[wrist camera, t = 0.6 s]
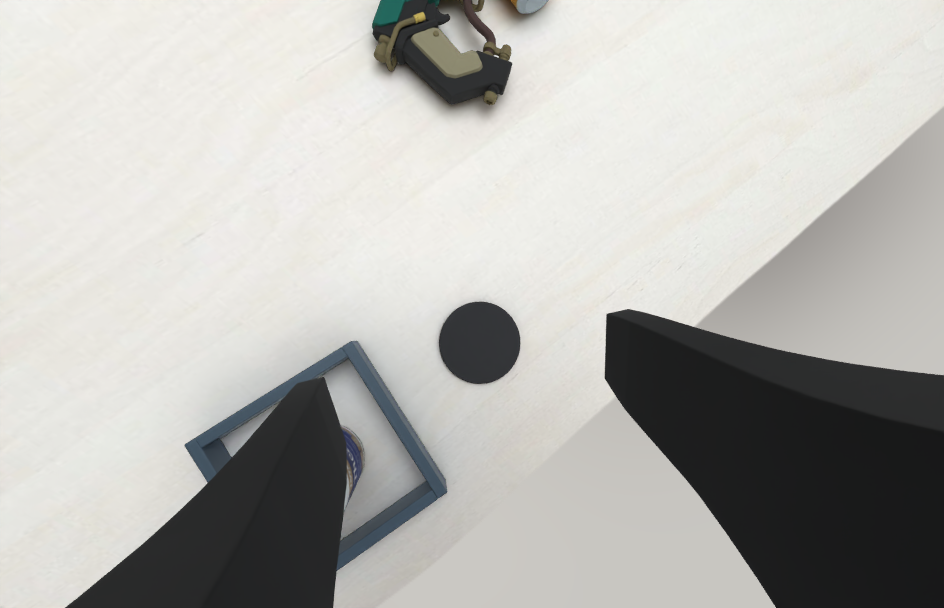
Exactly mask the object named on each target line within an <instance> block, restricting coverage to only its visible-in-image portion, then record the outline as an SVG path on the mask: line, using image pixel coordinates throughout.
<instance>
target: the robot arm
mask: <svg viewBox="0 0 944 608" xmlns="http://www.w3.org/2000/svg"><path fill="white" fill-rule="evenodd" d="M605 379H606V381H607V383H608V384H609V386H610V387H611V389H612V391H613V392H614V394H615V395H616V397H617V398H618V400H619V401H620V403H621V404H622V406H623V407H624V408H625V410H626V411H627V412H628V413H629V415H630V416H631V417H632V418H633V419H634V420H635V422H636V423H637V424H638V425H639V426H640V427H641V429H642V430H643V431H644V432H645V433H646V434H647V435H648V437H649V438H650V439H651V440H652V441H653V442H654V443H655V444H656V446H658V448H659V449H660V450H661V451H662V453H663V454H664V455H665V456H666V457H667V458H668V459H669V460H670V462H671V463H672V464H673V465H674V466H675V467H676V468H677V470H678V471H679V472H680V473H681V474H682V475H683V476H684V478H685V479H686V480H687V481H688V482H689V484H690V485H691V486H692V487H693V488H694V490H695V491H696V492H697V493H698V495H699V496H700V497H701V499H702V500H703V501H704V502H705V504H706V506H707V507H708V508H709V510H710V511H711V513H712V514H713V515H714V517H715V518H716V519H717V521H718V522H719V524H720V525H721V526H722V528H723V529H724V530H725V532H726V533H727V535H728V536H729V537H730V539H731V541H732V542H733V544H734V545H735V546H736V548H737V549H738V551H739V552H740V554H741V555H742V557H743V558H744V560H745V561H746V563H747V564H748V565H749V567H750V568H751V570H752V571H753V573H754V574H755V576H756V577H757V579H758V580H759V582H760V583H761V585H762V586H763V588H764V590H765V591H766V593H767V594H768V596H769V597H770V599H771V601H772V602H773V604H774V605H775V607H776V608H944V375H935V374H925V373H917V372H907V371H900V370H892V369H885V368H878V367H871V366H863V365H856V364H850V363H844V362H838V361H832V360H826V359H822V358H816V357H811V356H806V355H801V354H796V353H791V352H786V351H782V350H777V349H773V348H768V347H765V346H761V345H757V344H753V343H748V342H745V341H741V340H737V339H734V338H730V337H726V336H723V335H719V334H716V333H712V332H709V331H705V330H702V329H698V328H695V327H692V326H689V325H685V324H682V323H679V322H675V321H672V320H669V319H665V318H662V317H659V316H655V315H651V314H648V313H644V312H640V311H635V310H630V309H627V310H622V311H618V312H613V313H609V314H607V320H606V353H605ZM346 486H347V449H346V440H345V437H344V434H343V431H342V428H341V425H340V423H339V420H338V417H337V414H336V411H335V408H334V405H333V402H332V399H331V396H330V393H329V390H328V387H327V384H326V381H325V378H324V377H322V378H317V379H313V380H308V381H304V382H299V383H297V384H296V385H295V386H294V387H293V388H292V389H291V390H290V391H289V393H288V394H287V395H286V396H285V397H284V398H283V400H282V401H281V402H280V403H279V404H278V406H277V407H276V408H275V409H274V410H273V411H272V413H271V414H270V415H269V416H268V417H267V419H266V420H265V421H264V422H263V423H262V424H261V426H260V427H259V428H258V429H257V430H256V431H255V432H254V434H253V435H252V436H251V437H250V438H249V439H248V441H247V442H246V443H245V444H244V445H243V446H242V447H241V448H240V449H239V451H238V452H237V453H236V454H235V455H234V456H233V457H232V458H231V459H230V460H229V461H228V462H227V463H226V464H225V465H224V466H223V468H222V469H221V470H220V471H219V472H218V473H217V474H216V475H215V476H214V477H213V478H212V479H211V480H210V481H209V482H208V483H207V485H206V486H205V487H204V488H203V489H202V490H201V491H200V492H199V493H198V494H197V495H196V496H194V497H193V498H192V499H191V500H190V501H189V502H188V503H187V504H186V505H185V506H184V507H183V508H182V509H181V510H180V511H179V512H178V513H177V514H175V515H174V516H173V517H172V518H171V519H170V520H169V521H168V522H167V523H166V524H165V525H163V526H162V527H161V528H160V529H159V530H158V531H157V532H156V533H155V534H154V535H152V536H151V537H150V538H149V539H148V540H147V541H146V542H145V543H143V544H142V545H141V546H140V547H139V548H137V549H136V550H135V551H134V552H133V553H131V554H130V555H129V556H128V557H127V558H125V559H124V560H123V561H122V562H121V563H119V564H118V565H117V566H116V567H114V568H113V569H112V570H111V571H110V572H108V573H107V574H106V575H105V576H104V577H102V578H101V579H100V580H99V581H98V582H96V583H95V584H94V585H93V586H92V587H90V588H89V589H88V590H87V591H85V592H84V593H83V594H82V595H81V596H79V597H78V598H77V599H76V600H74V601H73V602H72V603H71V604H69V605H68V606H67V607H65V608H333V602H334V590H335V579H336V571H337V563H338V554H339V546H340V538H341V529H342V521H343V513H344V504H345V495H346Z"/></svg>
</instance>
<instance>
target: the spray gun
mask: <svg viewBox="0 0 944 608" xmlns="http://www.w3.org/2000/svg"><path fill="white" fill-rule="evenodd" d="M459 1H460V3H461V4H462V5H463V8H464V11H465V14H466V16H467V18H468V20H469V21H470V23H471V24H472V25H473V26H474V28H475V29H476V30H477V31H478V32H479V33H480V34H482V35H483V36H484V37H485V39H486V40H487V42H486V43H485V45H484V48H483V52H480V51H473V50H471V51H468V52H466V53H463V54H461V53H460V52H459V51H458V50H457V49H456V48H455V46H454V45H453V44H452V43H451V42H450V41H449V39H448V38H447V37H446V36H445V35H444V34H443V33H442V31H441V30H439V29H438V25H442V24H444V23H446V22H448V21H449V20H450V16H449V15H448V14H441V13H440V12H439V11H438V9H437V6H438V4H439V2H440V0H381V1H380V4H379V6H378V9H377V12H376V15H375V18H374V20H373V23H372V28H373V35H374V37H375V39H376V40H377V41H378V42H379V45H377V46H376V49H375V52H374V57H375V58H376V59H377V60H378V61H379V62H382V63H386V64H387V67H388V70H389V71H393V70H394V68H395V66H396V63H397V62H398V63H399V64H405V63H407V64H408V65H409V66H410V67H411V68H412V69H413V70H414V71H415V72H416V73H417V74H418V75H419V76H420V77H422V78H423V79H424V80H425V81H426V82H427V83H428V84H429V85H430V86H431V87H432V88H433V89H434V90H435V91H437V92H438V93H439V94H440V95H441V96H442V97H443V98H444V99H445V100H446V101H447V102H448V103H449V104H451V105H453V104H456V103H459V102H462V101H465V100H468V99H471V98H475V97H478V96H481V95H484V94H485V95H484V102H485V103H487V104H489V105H494V104H495V102H496V100H497V94H500V95H503V92H504V89H505V86H506V83H507V80H508V77H509V74H510V71H511V66H512V62H509V61H508V60H509V59H510V56H511V47H510V46H508V45H503V47H502V48H501V49H499V48H497V47H496V40H495V36H494V34H493V32H492V31H491V30H490V29H489V28H488V27H487V26H486V25H485V24H484V23H483V22H482V21H481V20H480V19H479V18H478V17H477V15H476V14H475V13H474V12H479V11H481V10H482V8H483V4H484V0H479V1H478V4H477V5H475V4H472V0H459ZM511 1H512V3H513V4H514V6H515V7H516V9H517V10H518V11H519V12H520V13H533V12H535V11H537V10H539V9H540V8H541V7H542V6H544V5H545V4H546V3H547V2H548V0H511ZM393 48H394V49H395V54H394V56H393V59H392V62H391V58H390V57H391V52H392V49H393ZM493 55H497V56H499V58H497V57H494V56H493Z"/></svg>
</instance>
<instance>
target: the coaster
mask: <svg viewBox="0 0 944 608" xmlns="http://www.w3.org/2000/svg"><path fill="white" fill-rule="evenodd" d="M439 346H440V352H441V356H442V358H443V361H444V362H445V364H446V366H447V367H448V368H449V370H450V371H451V372H452V373H453V374H454V375H456V376H457V377H459V378H460V379H462V380H465V381H467V382H471V383H477V384H482V383H489V382H493V381H495V380H497V379H499V378H501V377H503V376H504V375H505V374H506V373H508V372H509V370H510V369H511V368H512V367H513V365H514V364H515V362H516V360H517V357H518V355H519V350H520V335H519V331H518V328H517V326H516V323H515V322H514V320H513V319H512V317H511V316H510V315H509V314H508V313H507V312H506V311H505V310H503V309H502V308H500V307H499V306H497V305H494V304H491V303H487V302H472V303H468V304H465V305H463V306H461V307H459V308H458V309H456V310H455V311H454V312H453V313H452V314H451V315H450V316H449V317H448V318H447V320H446V321H445V323H444V325H443V327H442V330H441V333H440V340H439Z"/></svg>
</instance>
